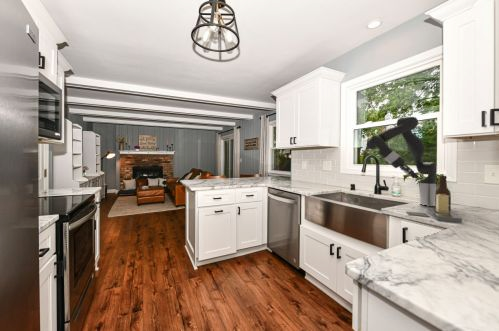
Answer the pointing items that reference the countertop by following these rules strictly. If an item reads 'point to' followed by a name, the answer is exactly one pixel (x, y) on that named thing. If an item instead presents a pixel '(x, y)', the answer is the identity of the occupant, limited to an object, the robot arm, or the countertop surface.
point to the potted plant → (443, 190)
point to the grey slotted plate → (444, 216)
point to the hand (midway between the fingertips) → (416, 177)
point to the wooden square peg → (442, 204)
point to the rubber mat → (417, 214)
